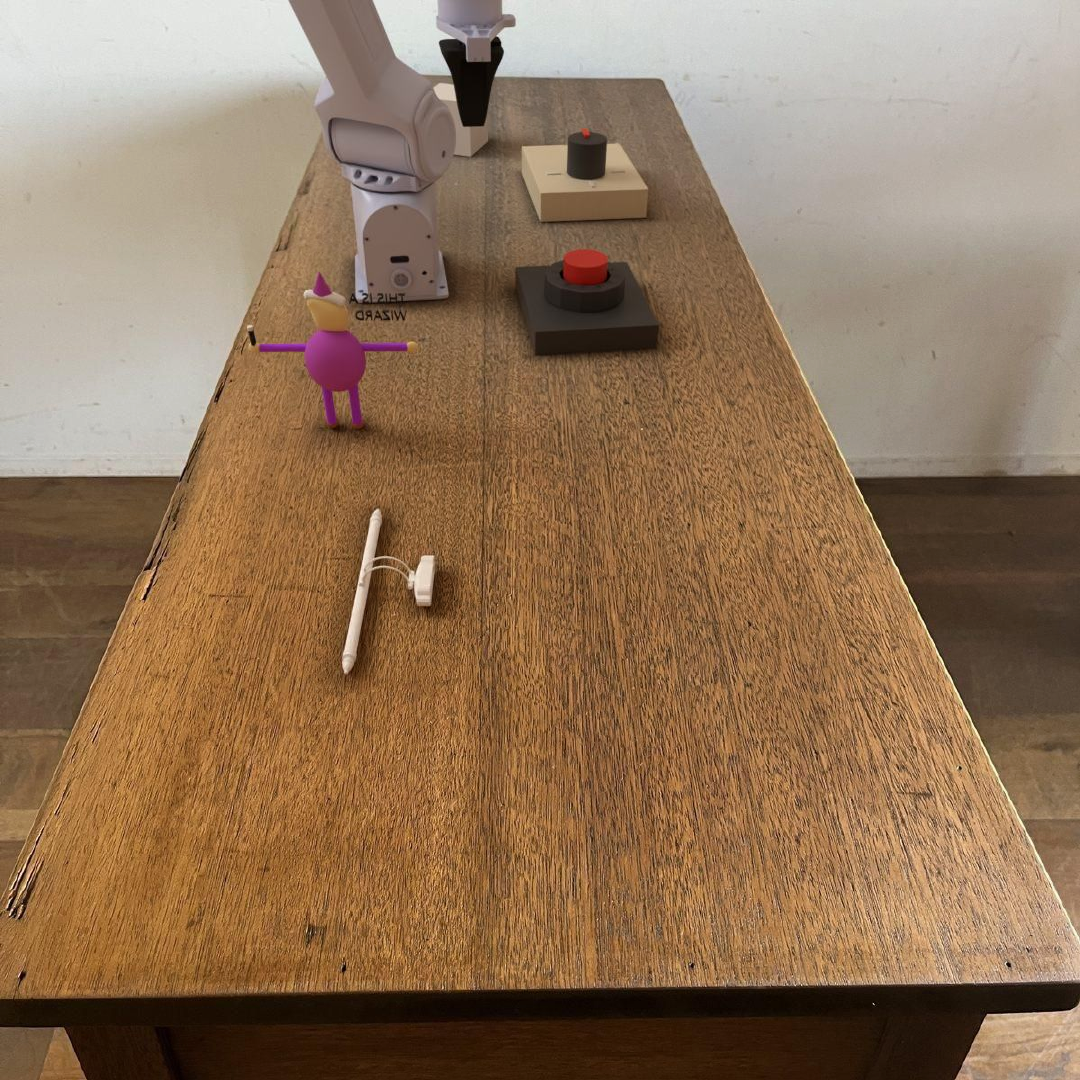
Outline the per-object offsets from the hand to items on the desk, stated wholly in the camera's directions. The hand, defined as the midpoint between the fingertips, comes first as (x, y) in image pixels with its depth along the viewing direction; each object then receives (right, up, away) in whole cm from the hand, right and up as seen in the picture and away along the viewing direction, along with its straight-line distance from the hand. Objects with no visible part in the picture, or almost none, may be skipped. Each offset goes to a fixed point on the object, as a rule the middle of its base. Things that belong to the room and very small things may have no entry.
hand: (472, 124), depth 93 cm
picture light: (-2, -42, -36) cm, 56 cm away
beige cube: (-4, +7, +24) cm, 25 cm away
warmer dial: (+11, -1, +9) cm, 14 cm away
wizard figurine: (-8, -32, -24) cm, 40 cm away
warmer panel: (+11, -2, +12) cm, 16 cm away
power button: (+10, -18, -12) cm, 24 cm away
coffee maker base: (+10, -21, -10) cm, 25 cm away
